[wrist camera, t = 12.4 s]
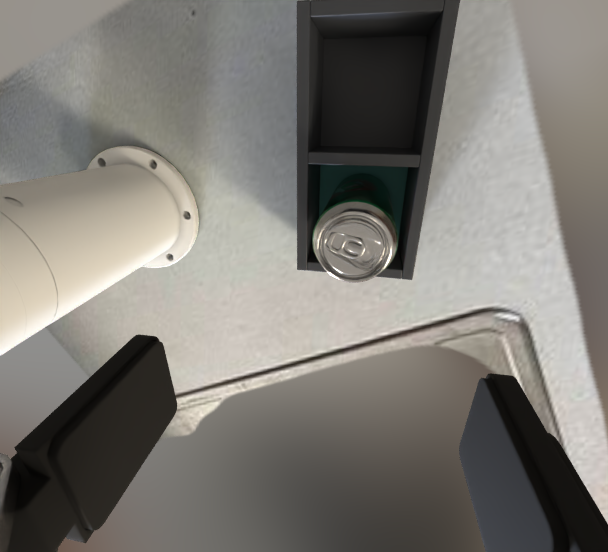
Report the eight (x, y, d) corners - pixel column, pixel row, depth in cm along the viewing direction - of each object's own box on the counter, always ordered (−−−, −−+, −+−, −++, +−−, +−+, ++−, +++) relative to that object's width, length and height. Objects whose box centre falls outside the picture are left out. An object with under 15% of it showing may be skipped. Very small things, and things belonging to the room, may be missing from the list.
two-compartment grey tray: (310, 243, 32) (297, 270, 27) (314, 28, 25) (296, 0, 19) (405, 249, 31) (412, 280, 25) (439, 23, 23) (461, -9, 17)
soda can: (375, 237, 30) (375, 300, 19) (324, 217, 30) (297, 269, 20) (400, 184, 28) (416, 225, 17) (345, 163, 28) (327, 190, 17)
